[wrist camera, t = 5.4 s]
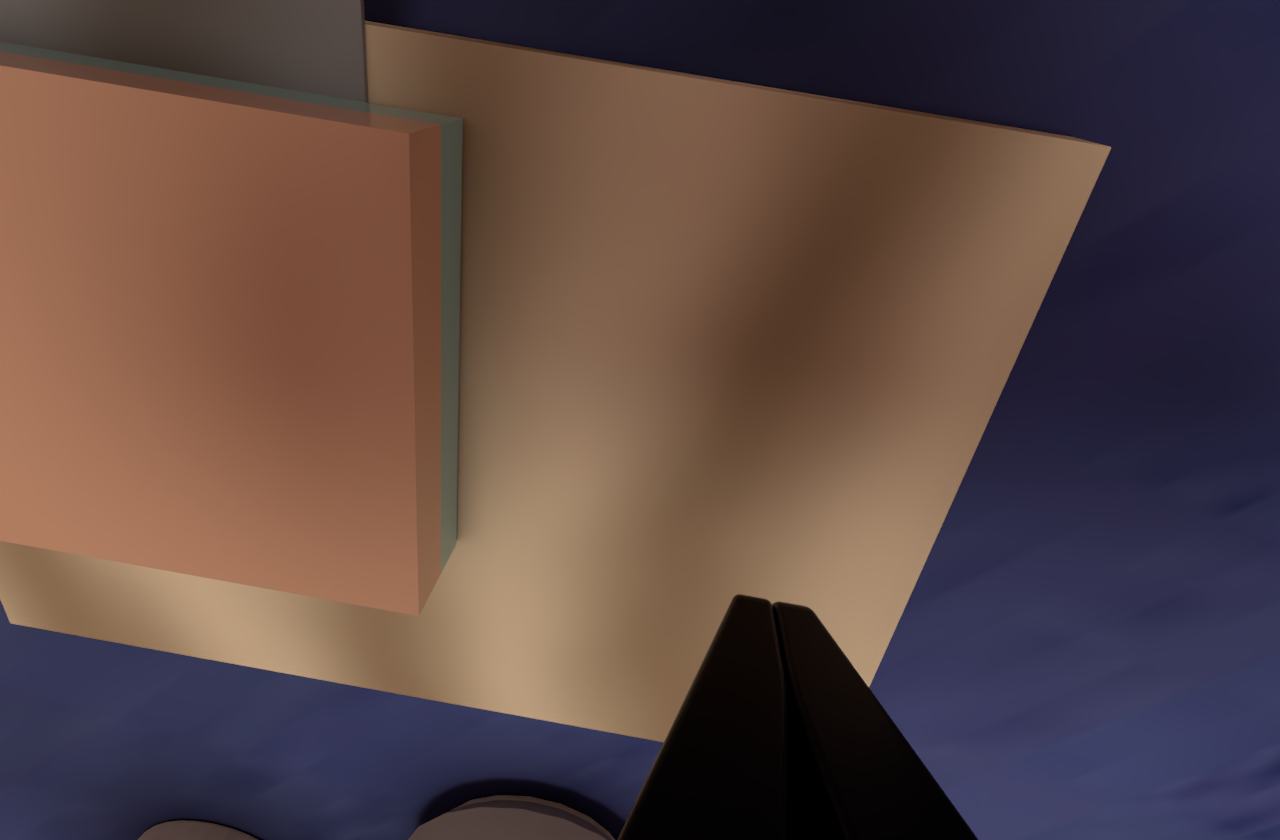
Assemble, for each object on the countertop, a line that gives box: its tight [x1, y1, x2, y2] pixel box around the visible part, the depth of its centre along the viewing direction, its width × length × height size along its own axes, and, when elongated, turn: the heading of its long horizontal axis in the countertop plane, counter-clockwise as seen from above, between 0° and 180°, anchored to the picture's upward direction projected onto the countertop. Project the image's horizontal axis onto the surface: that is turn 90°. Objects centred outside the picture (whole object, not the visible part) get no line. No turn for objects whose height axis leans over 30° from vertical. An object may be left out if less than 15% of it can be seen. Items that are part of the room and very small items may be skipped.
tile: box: [0, 41, 463, 616], centre depth 11 cm, size 2×8×8 cm
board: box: [0, 0, 1111, 742], centre depth 13 cm, size 20×14×1 cm
